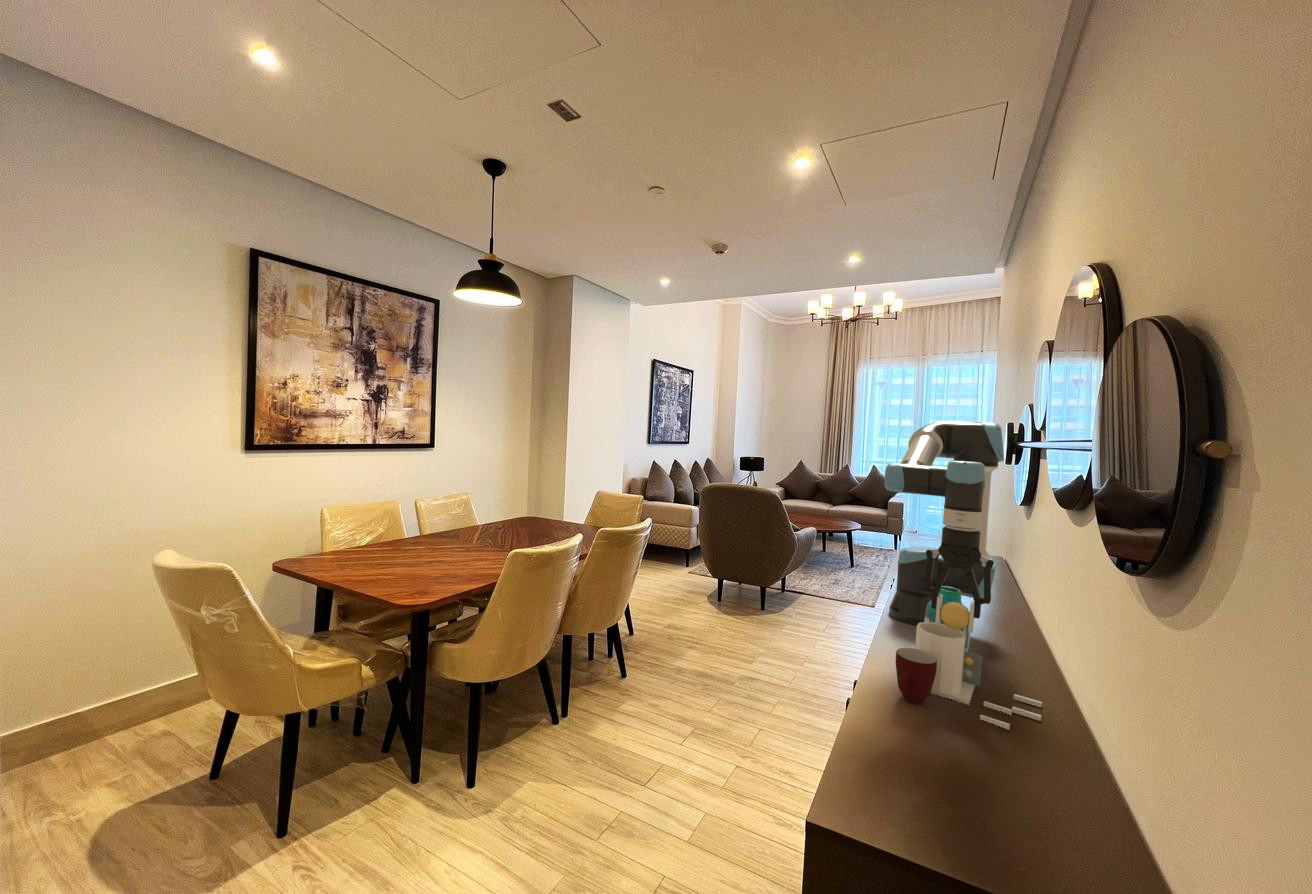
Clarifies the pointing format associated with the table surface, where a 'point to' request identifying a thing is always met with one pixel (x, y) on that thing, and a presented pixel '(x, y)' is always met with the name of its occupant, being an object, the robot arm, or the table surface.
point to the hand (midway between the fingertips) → (954, 626)
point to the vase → (948, 596)
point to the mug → (915, 674)
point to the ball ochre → (955, 615)
